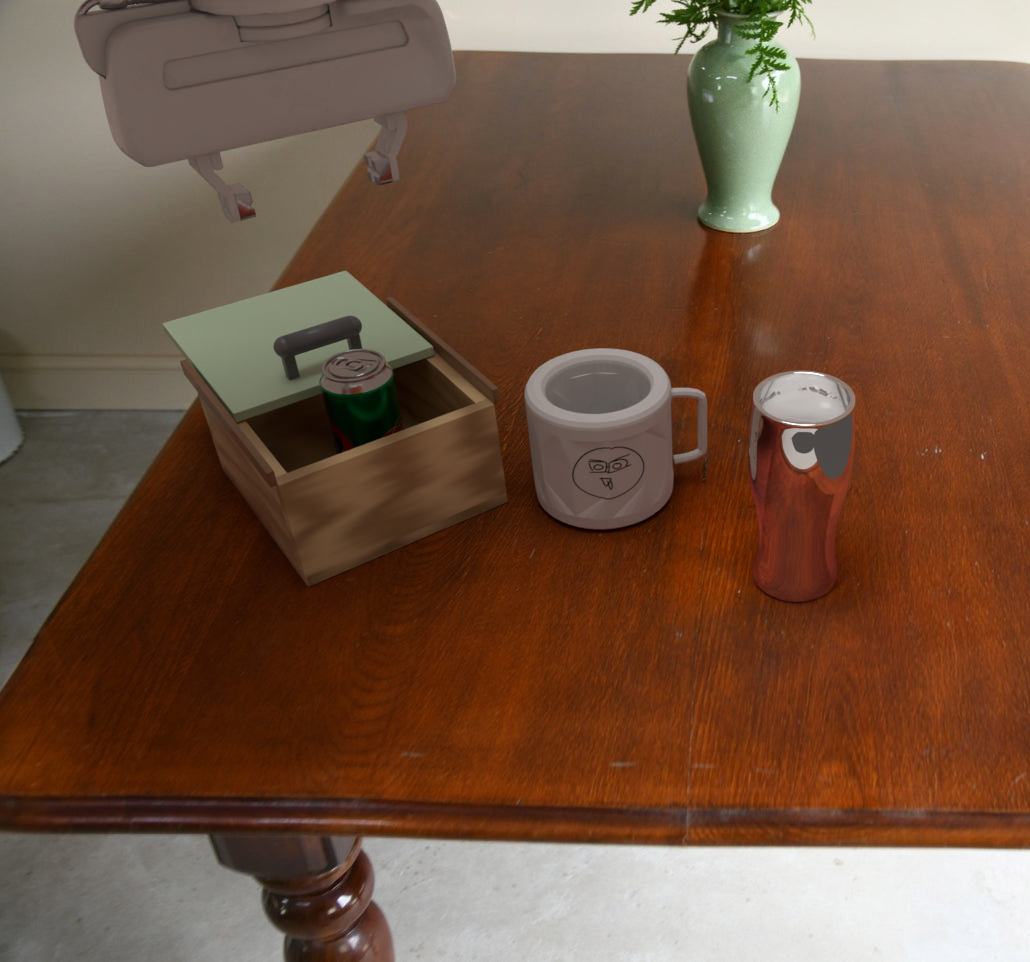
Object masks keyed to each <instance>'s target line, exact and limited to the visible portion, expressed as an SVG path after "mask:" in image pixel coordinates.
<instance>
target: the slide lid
mask: <svg viewBox="0 0 1030 962" xmlns="http://www.w3.org/2000/svg"><path fill="white" fill-rule="evenodd" d="M161 325H162V328H163V331H164V333H165V334H166V335H167V337H168V338H169V339H170V341H171V342H172V343H173V344H174V346H175V347H176V348H177V349H178V351H179V353H181V355H182V356H183V357H184V358H185V359H186V360H187V361H188V362H189V363H190V365H191V366H192V367H193V368H194V370H195V371H196V372H197V373H198V375H199V376H200V377H201V379H202V380H203V381H204V382H205V384H206V385H207V386H208V387H209V389H210V390H211V391H212V393H213V394H214V395H215V396H216V398H217V399H218V400H219V402H220V403H221V404H222V405H223V407H224V408H225V409H226V410H227V412H228V413H229V414H230V416H231V417H232V418H233V419H234V421H235V422H240V421H243V420H245V419H248V418H251V417H254V416H257V415H260V414H263V413H266V412H269V411H272V410H275V409H278V408H281V407H284V406H287V405H289V404H292V403H295V402H298V401H301V400H304V399H307V398H310V397H313V396H316V395H319V394H322V393H321V389H320V384H319V381H320V378H321V376H322V374H323V373H322V366H323V364H324V362H325V361H326V360H327V359H328V358H330V357H331V356H333V355H335V354H337V353H340V352H343V351H347V350H353V349H370V350H374V351H377V352H379V353H381V354H382V355H383V356H384V357H385V360H386V363H387V364H388V365H390V366H391V368H392V369H395V368H398V367H401V366H404V365H407V364H410V363H413V362H416V361H419V360H422V359H424V358H427V357H430V356H433V355H434V352H435V351H434V349H433V346H432V345H431V344H430V343H429V342H427V341H426V340H425V339H424V338H423V337H422V336H421V335H419V334H418V333H417V332H416V331H415V330H414V329H412V328H411V327H410V326H409V325H408V324H407V323H406V322H404V321H403V320H402V319H401V318H400V317H399V316H398V315H396V314H395V313H394V312H393V311H392V310H391V309H390V308H388V306H387V304H386V303H384V302H383V301H382V300H381V299H379V297H377V296H376V295H375V294H374V293H373V292H372V291H370V290H369V289H368V288H366V286H364V285H363V283H361V282H360V281H359V280H358V279H356V278H355V277H354V276H353V275H352V274H351V273H350V272H348V271H347V270H343V271H339V272H336V273H332V274H329V275H325V276H321V277H317V278H315V279H311V280H308V281H304V282H301V283H298V284H294V285H291V286H286V287H283V288H280V289H277V290H273V291H269V292H266V293H263V294H260V295H256V296H252V297H248V298H245V299H241V300H238V301H235V302H232V303H228V304H225V305H221V306H218V307H214V308H210V309H207V310H203V311H200V312H197V313H193V314H190V315H186V316H183V317H180V318H176V319H172V320H168V321H165V322H162V323H161Z"/></svg>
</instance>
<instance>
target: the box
mask: <svg viewBox="0 0 1030 962" xmlns="http://www.w3.org/2000/svg"><path fill="white" fill-rule="evenodd" d="M385 300H386V306H387V307H388V308H390V309H391V310H392V311H393V312H394V313H395V314H396V315H398V316H399V317H400V318H401V319H402V320H403V321H404V322H406V323H407V324H408V325H409V326H410V327H411V328H412V329H414V330H415V331H416V332H417V333H418V334H419V335H421V336H422V337H423V338H424V339H425V340H426V341H427V342H429V343H430V344H431V345H432V346H433V349H434V355H433V356H430V357H427V358H424V359H422V360H419V361H416V362H413V363H410V364H407V365H404V366H401V367H398V368H395V369H393V372H394V377H395V382H396V387H397V392H398V397H399V402H400V407H401V412H402V417H403V422H404V428H405V430H402V431H399V432H396V433H394V434H391V435H388V436H386V437H383V438H380V439H378V440H375V441H372V442H370V443H367V444H364V445H361V446H359V447H356V448H353V449H351V450H348V451H345V452H343V453H340V454H336V450H335V445H334V441H333V437H332V433H331V429H330V425H329V421H328V417H327V413H326V409H325V405H324V401H323V397H322V394H319V395H316V396H313V397H310V398H307V399H304V400H301V401H298V402H295V403H292V404H289V405H287V406H284V407H281V408H278V409H275V410H272V411H269V412H266V413H263V414H260V415H257V416H254V417H251V418H248V419H245V420H243V421H240V422H235V421H234V419H233V418H232V417H231V416H230V414H229V413H228V412H227V410H226V409H225V408H224V407H223V405H222V404H221V403H220V402H219V400H218V399H217V398H216V396H215V395H214V394H213V393H212V391H211V390H210V389H209V387H208V386H207V385H206V384H205V382H204V381H203V380H202V379H201V377H200V376H199V375H198V373H197V372H196V371H195V370H194V368H193V367H192V366H191V365H190V363H189V362H188V361H187V359H186V358H185V359H182V360H179V363H180V366H181V370H182V372H183V375H184V376H185V378H186V379H187V380H188V381H189V383H190V384H191V386H192V387H193V388H194V389H195V390H196V392H197V395H198V398H199V401H200V405H201V408H202V411H203V414H204V416H205V420H206V423H207V426H208V430H209V432H210V435H211V438H212V441H213V444H214V447H215V451H216V454H217V456H218V460H219V463H220V466H221V469H222V471H223V472H224V473H225V475H226V476H227V477H228V478H229V480H230V481H231V483H232V484H233V486H234V487H235V488H236V490H237V491H238V492H239V494H240V496H241V497H242V498H243V499H244V501H245V502H246V504H247V505H248V506H249V508H250V509H251V510H252V512H253V513H254V515H255V516H256V517H257V519H258V520H259V522H260V523H261V524H262V526H263V527H264V529H265V530H266V531H267V532H268V534H269V535H270V537H271V538H272V540H273V541H274V542H275V544H276V545H277V546H278V548H279V550H280V551H281V552H282V553H283V554H284V556H285V558H286V559H287V560H288V562H289V563H290V564H291V565H292V567H293V568H294V570H295V571H296V572H297V574H298V575H299V577H300V578H301V579H302V581H303V582H304V583H305V585H306V586H307V587H308V588H309V587H312V586H314V585H316V584H318V583H321V582H323V581H325V580H329V579H331V578H333V577H335V576H338V575H339V574H343V573H344V572H346V571H349V570H352V569H355V568H356V567H359V566H361V565H364V564H365V563H368V562H370V561H373V560H375V559H377V558H379V557H382V556H385V555H387V554H389V553H392V552H394V551H396V550H398V549H400V548H403V547H405V546H408V545H411V544H412V543H414V542H417V541H420V540H422V539H424V538H427V537H429V536H431V535H434V534H436V533H438V532H440V531H443V530H446V529H448V528H450V527H452V526H455V525H458V524H460V523H461V522H464V521H466V520H468V519H471V518H473V517H476V516H478V515H480V514H483V513H485V512H488V511H490V510H492V509H494V508H497V507H499V506H501V505H504V504H506V503H509V500H508V493H507V492H508V491H507V486H506V478H505V471H504V464H503V463H504V462H503V458H502V456H503V455H502V449H501V441H500V436H499V427H498V421H497V414H496V406H495V404H498V403H500V402H501V396H500V390H499V387H498V386H497V385H496V384H494V382H492V381H491V380H490V379H489V378H487V377H486V376H485V375H484V374H483V373H482V372H481V371H479V370H478V369H477V368H476V367H475V366H473V365H472V364H471V363H470V362H468V361H467V360H466V359H465V358H464V357H463V356H461V354H460V353H458V352H457V351H456V350H455V349H453V348H452V347H451V346H450V345H449V344H448V343H446V342H445V341H444V340H443V339H442V338H440V337H439V336H438V335H437V334H436V333H434V332H433V330H431V328H429V327H428V326H426V325H425V324H424V323H423V322H422V321H421V320H420V319H419V318H417V317H416V316H415V315H414V314H413V313H411V312H410V311H409V310H408V309H407V308H405V307H404V306H403V305H402V304H401V303H400V302H399V301H397V300H396V299H395V298H393V296H388V297H386V298H385Z"/></svg>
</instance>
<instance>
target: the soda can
mask: <svg viewBox="0 0 1030 962" xmlns="http://www.w3.org/2000/svg"><path fill="white" fill-rule="evenodd" d="M322 373H323V374H322V376H321V378H320V381H319V384H320V389H321V393H322V397H323V401H324V405H325V409H326V413H327V417H328V421H329V425H330V429H331V433H332V437H333V441H334V445H335V450H336V454H340V453H343V452H345V451H348V450H351V449H353V448H356V447H359V446H361V445H364V444H367V443H370V442H372V441H375V440H378V439H380V438H383V437H386V436H388V435H391V434H394V433H396V432H399V431H402V430H405V428H404V422H403V417H402V412H401V407H400V402H399V397H398V392H397V387H396V382H395V377H394V372H393V369H392V368H391V366H390V365H388V364H387V363H386V360H385V357H384V356H383V355H382V354H381V353H379V352H377V351H374V350H370V349H353V350H347V351H343V352H340V353H337V354H335V355H333V356H331V357H330V358H328V359H327V360H326V361H325V362H324V364H323V366H322Z"/></svg>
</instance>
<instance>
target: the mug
mask: <svg viewBox="0 0 1030 962" xmlns="http://www.w3.org/2000/svg"><path fill="white" fill-rule="evenodd" d="M523 397H524V406H525V415H526V423H527V432H528V438H529V448H530V455H531V464H532V472H533V481H534V482H533V483H534V487H535V492H536V497H537V501H538V502H539V504H540V506H541V507H542V509H543V510H544V511H545V512H546V513H547V514H548V515H550V516H551V517H553V518H554V519H556V520H558V521H560V522H561V523H564V524H567V525H569V526H573V527H577V528H581V529H587V530H601V531H603V530H615V529H620V528H624V527H628V526H632V525H636V524H637V523H641V522H642V521H645V520H646V519H648V518H650V517H652V516H653V515H654V514H655V513H657V512H659V511H660V510H661V509H662V508H663V507H664V506H665V505H666V504H667V503H668V501H669V500H670V498H671V496H672V493H673V489H674V477H675V476H674V475H675V474H674V473H675V472H674V465H681V464H686V463H690V462H693V461H696V460H699V459H700V458H701V457H703V456H705V455H706V453H707V450H708V400H707V396H706V393H705V392H704V391H701V390H700V389H698V388H692V387H672V384H671V380H670V378H669V375H668V373H667V372H666V371H665V370H664V368H663V366H661V365H660V364H659V363H658V362H656V361H655V360H653V359H651V358H650V357H648V356H646V355H643V354H641V353H638V352H634V351H631V350H626V349H619V348H607V347H606V348H605V347H603V348H602V347H600V348H599V347H598V348H586V349H580V350H575V351H571V352H568V353H563V354H561V355H559V356H556V357H554V358H551V359H549V360H548V361H545V362H543V364H541V365H540V366H539V367H537V368H536V369H535V370H534V371H533V373H532V374H531V375H530V376H529V378H528V380H527V382H526V384H525V387H524V396H523ZM676 398H687V399H688V398H691V399H696V400H698V401H697V404H696V405H697V410H696V411H697V412H696V413H697V448H696V449H694V450H691V451H688V452H685V453H683V452H682V453H678V454H673V428H672V427H673V424H672V400H673V399H676Z"/></svg>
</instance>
